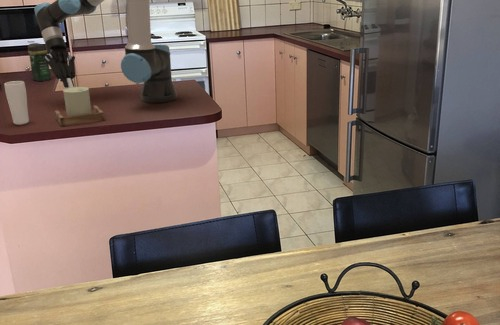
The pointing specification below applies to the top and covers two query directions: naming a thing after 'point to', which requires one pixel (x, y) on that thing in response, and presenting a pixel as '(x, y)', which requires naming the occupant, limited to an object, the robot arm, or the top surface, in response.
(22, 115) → the drinking glass
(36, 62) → the coffee jar
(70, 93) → the can
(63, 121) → the corral
